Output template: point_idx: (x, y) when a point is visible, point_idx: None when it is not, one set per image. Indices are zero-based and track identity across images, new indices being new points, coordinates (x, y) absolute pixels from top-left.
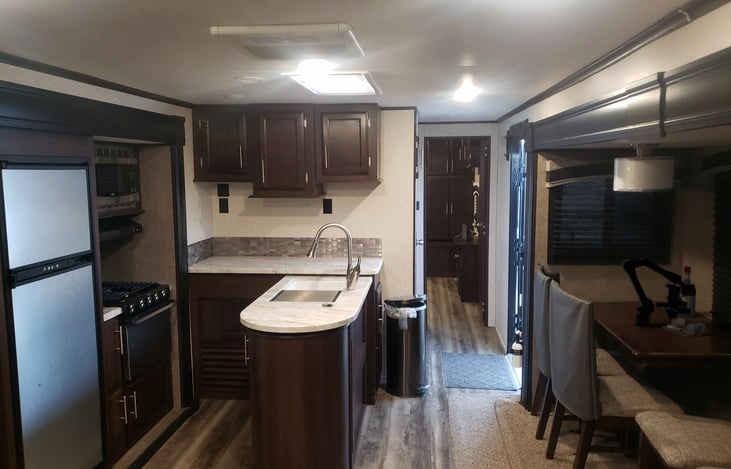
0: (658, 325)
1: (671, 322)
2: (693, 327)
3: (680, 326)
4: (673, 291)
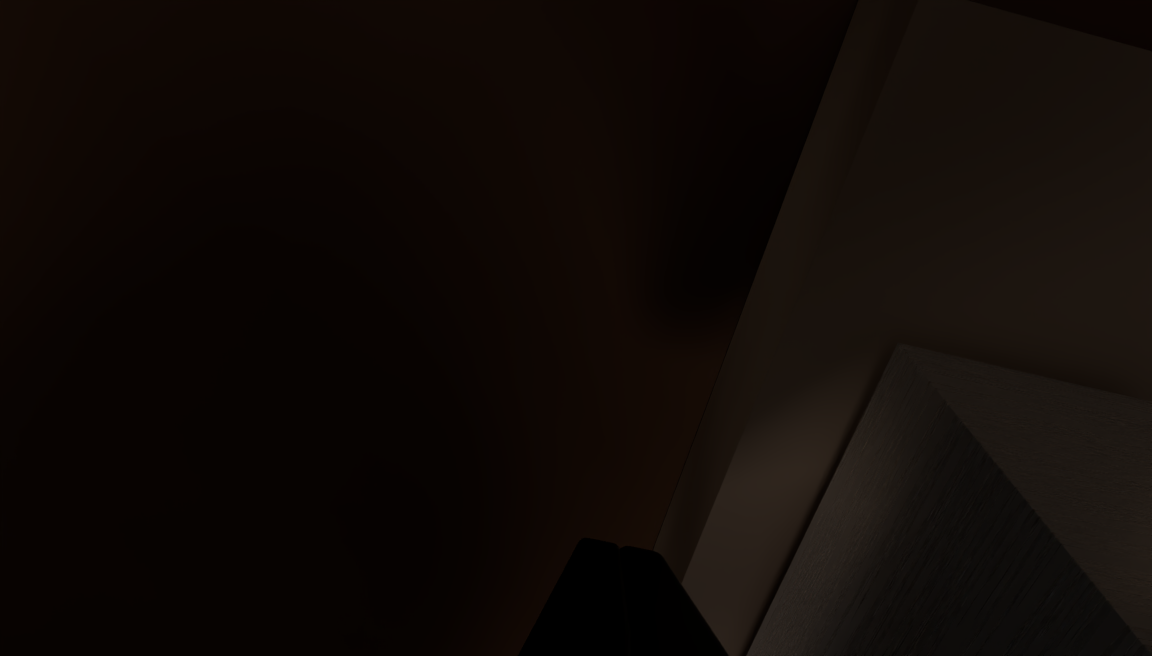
0: (206, 592)
1: None
2: None
3: None
4: None
